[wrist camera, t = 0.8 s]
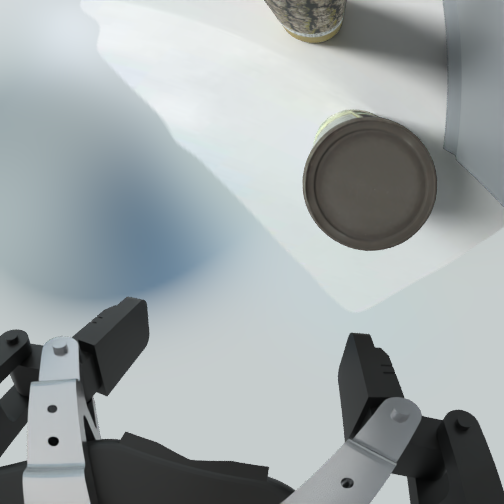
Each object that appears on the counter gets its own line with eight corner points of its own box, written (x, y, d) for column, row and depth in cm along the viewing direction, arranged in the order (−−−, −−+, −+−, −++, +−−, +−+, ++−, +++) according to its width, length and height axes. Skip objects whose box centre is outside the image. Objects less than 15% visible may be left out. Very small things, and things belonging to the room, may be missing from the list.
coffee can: (393, 106, 28) (435, 116, 16) (399, 191, 32) (433, 248, 21) (305, 112, 31) (291, 123, 19) (317, 196, 35) (310, 254, 24)
